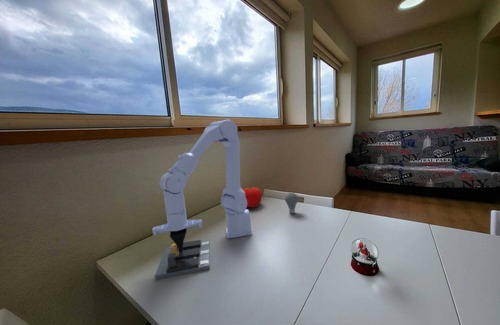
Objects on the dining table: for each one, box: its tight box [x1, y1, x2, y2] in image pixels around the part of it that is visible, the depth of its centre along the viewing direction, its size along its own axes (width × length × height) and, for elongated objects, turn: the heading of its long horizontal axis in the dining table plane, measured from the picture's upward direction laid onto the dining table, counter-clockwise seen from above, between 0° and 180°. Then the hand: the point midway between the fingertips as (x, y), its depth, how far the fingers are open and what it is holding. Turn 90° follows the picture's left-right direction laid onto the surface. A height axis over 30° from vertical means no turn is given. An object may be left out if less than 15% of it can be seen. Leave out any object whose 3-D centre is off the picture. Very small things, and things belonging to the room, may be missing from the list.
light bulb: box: [284, 192, 299, 214], centre depth 94 cm, size 6×6×10 cm
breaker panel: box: [154, 239, 211, 280], centre depth 64 cm, size 15×15×5 cm
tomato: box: [242, 186, 263, 208], centre depth 107 cm, size 11×12×10 cm
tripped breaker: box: [171, 243, 179, 256], centre depth 63 cm, size 2×2×3 cm
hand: (181, 251), depth 64 cm, fingers closed
